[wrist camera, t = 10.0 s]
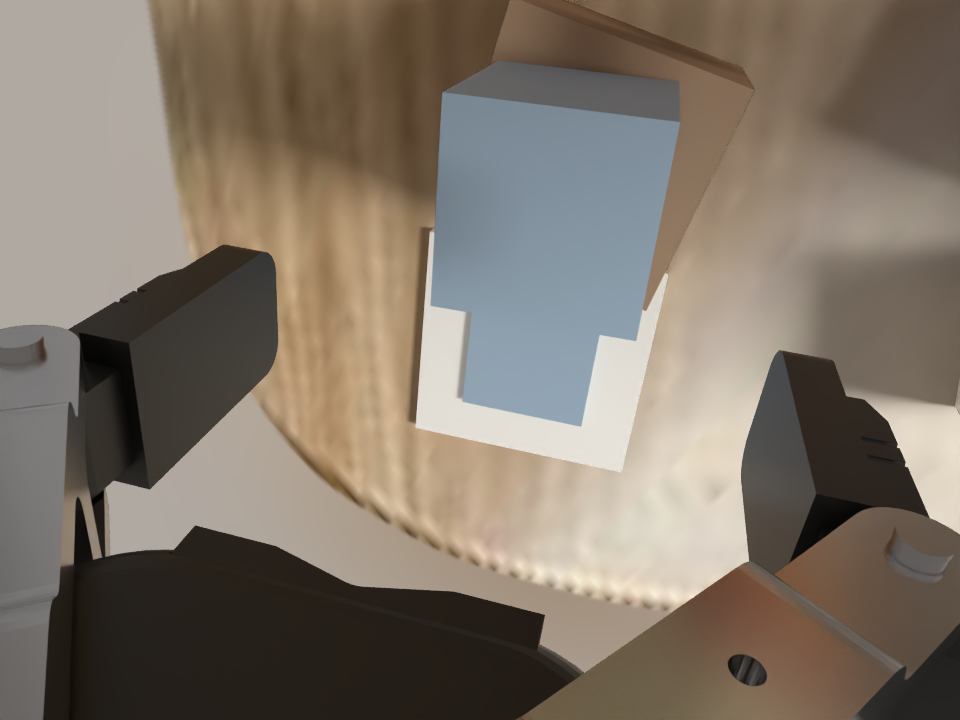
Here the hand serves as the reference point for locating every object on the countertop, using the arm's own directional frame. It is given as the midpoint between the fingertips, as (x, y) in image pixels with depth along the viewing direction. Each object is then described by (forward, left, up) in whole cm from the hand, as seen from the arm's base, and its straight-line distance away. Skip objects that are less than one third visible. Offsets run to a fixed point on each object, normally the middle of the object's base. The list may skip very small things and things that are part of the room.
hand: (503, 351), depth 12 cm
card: (+1, +9, -17) cm, 19 cm away
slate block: (0, 0, -12) cm, 12 cm away
